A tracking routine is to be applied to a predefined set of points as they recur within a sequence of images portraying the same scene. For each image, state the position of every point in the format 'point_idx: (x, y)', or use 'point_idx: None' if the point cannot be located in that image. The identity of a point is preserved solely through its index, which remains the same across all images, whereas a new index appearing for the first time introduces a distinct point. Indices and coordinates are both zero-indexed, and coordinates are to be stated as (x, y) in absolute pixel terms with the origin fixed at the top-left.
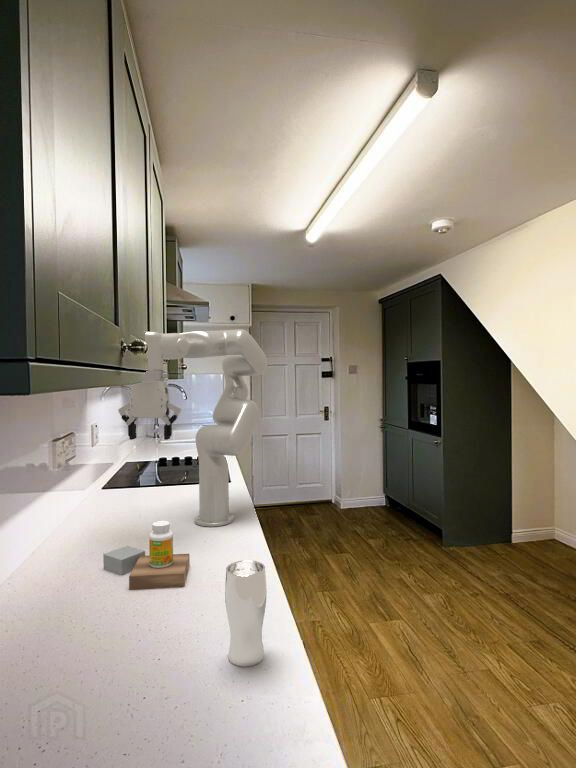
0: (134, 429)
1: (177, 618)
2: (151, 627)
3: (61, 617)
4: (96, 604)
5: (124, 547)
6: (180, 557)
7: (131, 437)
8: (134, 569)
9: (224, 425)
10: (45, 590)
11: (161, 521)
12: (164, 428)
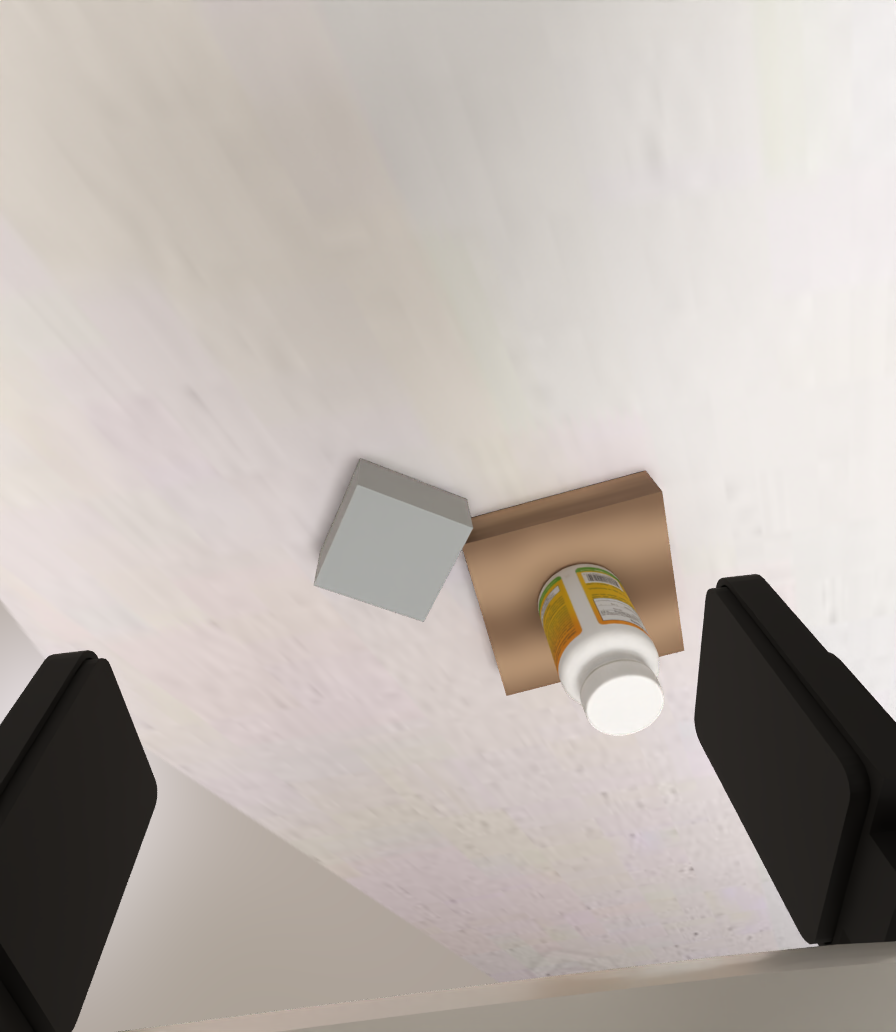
0: (59, 860)
1: (691, 760)
2: (640, 798)
3: (399, 803)
4: (450, 744)
5: (359, 508)
6: (634, 533)
7: (139, 822)
8: (499, 651)
9: None
10: (239, 709)
11: (619, 688)
12: (790, 895)
